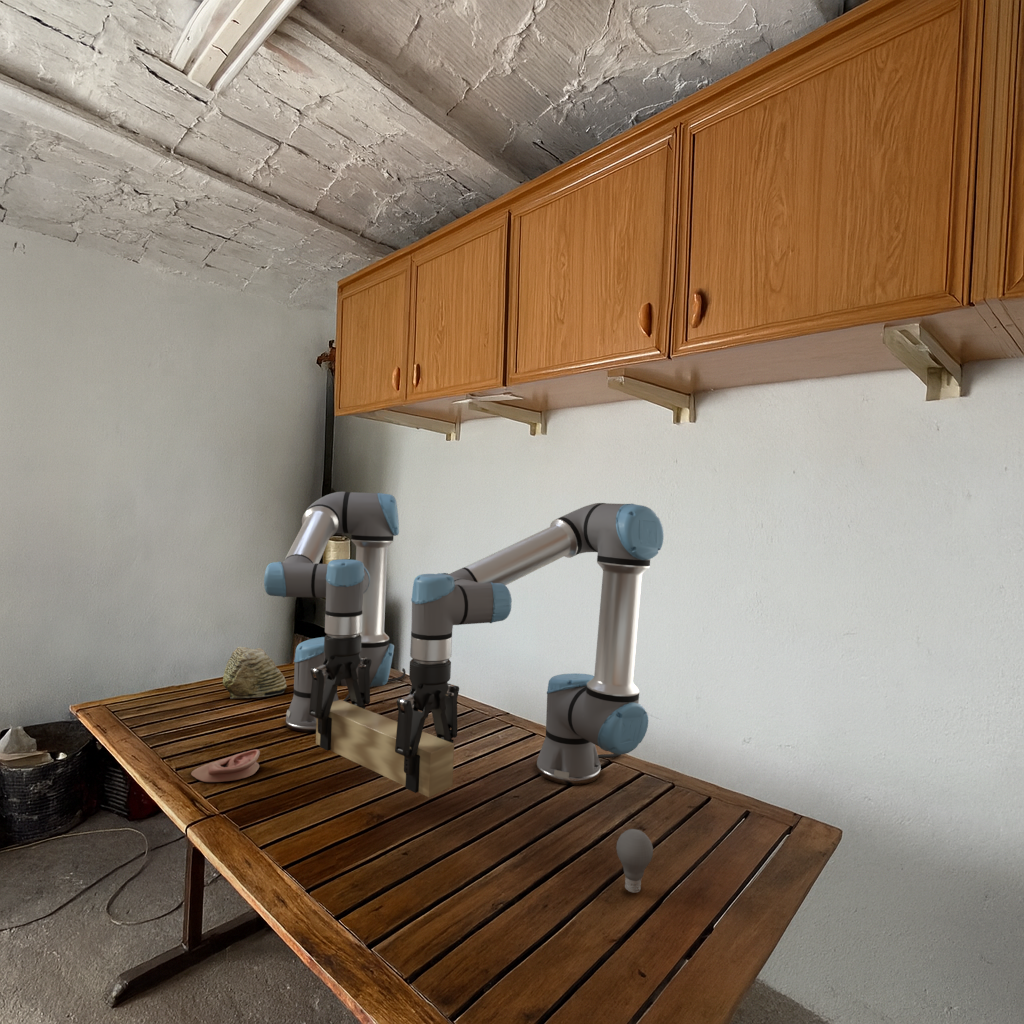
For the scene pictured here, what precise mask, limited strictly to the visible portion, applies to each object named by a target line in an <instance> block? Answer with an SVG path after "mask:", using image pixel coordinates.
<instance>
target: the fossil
mask: <svg viewBox="0 0 1024 1024" xmlns="http://www.w3.org/2000/svg"><path fill="white" fill-rule="evenodd" d="M222 676H223V677H222V685H223V687H224V688H225V690H226V691H228V693H229V698H230V699H250V698H264V697H271V696H275V695H281V694H284V693H285V691H286V689H287V687H288V686H287V680H286V678H285V676H284V674H283V673H282V672H281V669H279V668H278V667H277V665H276V663H275V662H274V660H273V659H272V658H271V657H270V656H269V655H268V654H267V653H266V652H265V650H264V649H263V648H260V647H258V648H251V647H247V646H246V647H245V646H238V647H237V648H236V649H235V650H233V651H232V653H231V656H230V657H229V659H228V660H227V663H226V666H225V668H224V671H223V675H222Z"/></svg>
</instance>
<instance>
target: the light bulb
mask: <svg viewBox="0 0 1024 1024" xmlns="http://www.w3.org/2000/svg"><path fill="white" fill-rule="evenodd" d="M615 849H616V854H617V857H618V859H619V861H620V863H621V865H622V867H623V873H624V874H623V875H624V876H625V878H624V888H625V890H627V891H628V892H630V893H634V894H635V893H639V892H640V891H641V889H642V887H641V886H642V879H643V877H644V875H645V871H646V868H647V867H648V866H649V864H650V863H651V861H652V859H653V855H654V847H653V843H652V841H651V838H649V836H648V835H647V834H646V833H645V832H643V831H642V830H641V829H636V828H629V829H627V830H625V831H623V832H622V833H621V834H620V835H619V837H618V839H617V841H616V847H615Z"/></svg>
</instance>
